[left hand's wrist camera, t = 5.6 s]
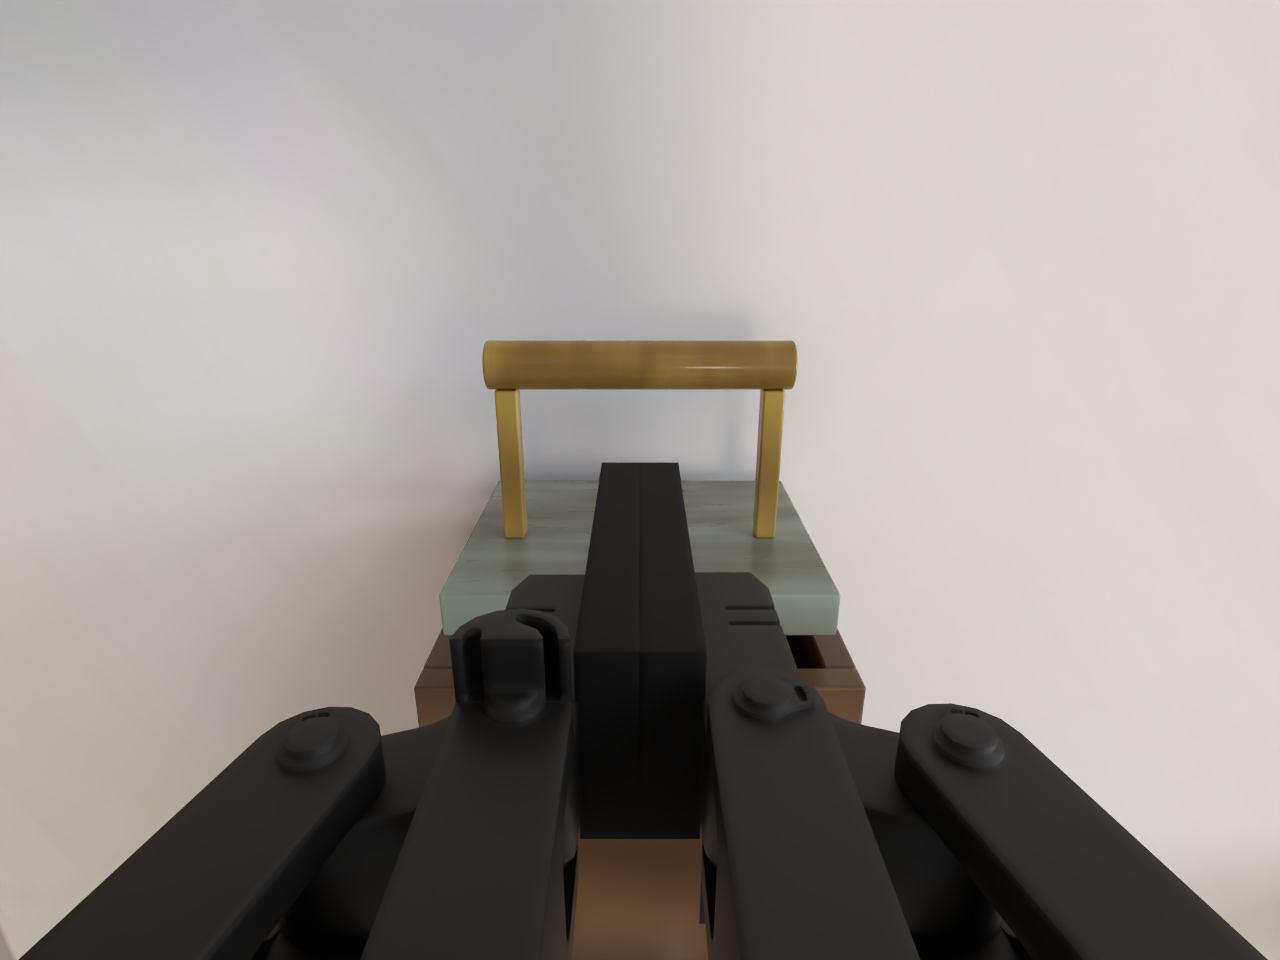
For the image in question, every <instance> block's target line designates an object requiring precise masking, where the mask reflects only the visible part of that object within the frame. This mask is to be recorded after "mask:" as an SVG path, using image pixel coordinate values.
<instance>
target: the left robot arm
mask: <svg viewBox="0 0 1280 960" xmlns="http://www.w3.org/2000/svg"><path fill="white" fill-rule="evenodd" d="M449 643H450V652H451V662H452V671H453V681H454V690H455V700H456V703H455V706H454V708H453V711H452V714H451V716H449V717H446V718H444V719H442V720H440V721H438V722H436V723H433V724H430V725H426V726H423V727H419V728H416V729H411V730H407V731H402V732H398V733H393V734H388V735H384V736H381V734H380V727H379V724H378V723H377V722H376V721H375V720H374V719H373V718H372V716H371V715H370V714H368V713H366V712H363V711H360V710H357V709H354V708H350V707H327V708H322V709H317V710H312V711H307V712H303V713H301V714H299V715H296V716H294V717H291V718H289V719H287V720H284V721H282V722H280V723H278V724H277V725H276V726H274V727H273V728H271V729H270V730H269V731H267V732H266V733H264V734H263V735H262V736H260V737H259V738H258V739H257V740H256V741H255V742H254V743H252V744H251V745H250V746H249V747H248V748H247V749H246V750H245V751H244V752H243V753H242V754H241V755H239V756H238V757H237V758H236V759H235V760H234V761H233V762H232V763H231V764H230V765H229V766H228V767H227V768H225V769H224V770H223V771H222V772H221V773H220V774H219V775H218V776H217V777H216V778H215V779H214V780H212V781H211V782H210V783H209V784H208V785H207V786H206V787H205V788H204V789H203V790H202V791H201V792H199V793H198V794H197V795H196V796H195V797H194V798H193V799H192V800H191V801H190V802H189V803H188V804H187V805H185V806H184V807H183V808H182V809H181V810H180V811H179V812H178V813H177V814H176V815H175V816H174V817H172V818H171V819H170V820H169V821H168V822H167V823H166V824H165V825H164V826H163V827H162V828H161V829H159V830H158V831H157V832H156V833H155V834H154V835H153V836H152V837H151V838H150V839H149V840H148V841H146V842H145V843H144V844H143V845H142V846H141V847H140V848H139V849H138V850H137V851H136V852H135V853H134V854H132V855H131V856H130V857H129V858H128V859H127V860H126V861H125V862H124V863H123V864H122V865H121V866H119V867H118V868H117V869H116V870H115V871H114V872H113V873H112V874H111V875H110V876H109V877H108V878H106V879H105V880H104V881H103V882H102V883H101V884H100V885H99V886H98V887H97V888H96V889H95V890H94V891H92V892H91V893H90V894H89V895H88V896H87V897H86V898H85V899H84V900H83V901H82V902H81V903H79V904H78V905H77V906H76V907H75V908H74V909H73V910H72V911H71V912H70V913H69V914H68V915H66V916H65V917H64V918H63V919H62V920H61V921H60V922H59V923H58V924H57V925H56V926H55V927H53V928H52V929H51V930H50V931H49V932H48V933H47V934H46V935H45V936H44V937H43V938H42V939H41V940H39V941H38V942H37V943H36V944H35V945H34V946H33V947H32V948H31V949H30V950H29V951H28V952H26V953H25V954H24V955H23V956H22V957H21V958H20V959H19V960H572V950H573V939H574V928H575V916H576V905H577V894H578V882H579V864H578V837H579V826H580V839H700V823H701V833H702V864H701V890H700V916H699V924H705V927H706V938H707V949H708V960H1267V959H1266V958H1265V957H1264V956H1263V955H1262V954H1261V953H1260V952H1259V951H1258V950H1257V949H1255V948H1254V947H1253V946H1252V945H1251V944H1250V943H1249V942H1248V941H1247V940H1246V939H1245V938H1243V937H1242V936H1241V935H1240V934H1239V933H1238V932H1237V931H1236V930H1235V929H1234V928H1233V927H1231V926H1230V925H1229V924H1228V923H1227V922H1226V921H1225V920H1224V919H1223V918H1222V917H1221V916H1219V915H1218V914H1217V913H1216V912H1215V911H1214V910H1213V909H1212V908H1211V907H1210V906H1209V905H1207V904H1206V903H1205V902H1204V901H1203V900H1202V899H1201V898H1200V897H1199V896H1198V895H1197V894H1196V893H1194V892H1193V891H1192V890H1191V889H1190V888H1189V887H1188V886H1187V885H1186V884H1185V883H1184V882H1182V881H1181V880H1180V879H1179V878H1178V877H1177V876H1176V875H1175V874H1174V873H1173V872H1172V871H1170V870H1169V869H1168V868H1167V867H1166V866H1165V865H1164V864H1163V863H1162V862H1161V861H1160V860H1158V859H1157V858H1156V857H1155V856H1154V855H1153V854H1152V853H1151V852H1150V851H1149V850H1148V849H1146V848H1145V847H1144V846H1143V845H1142V844H1141V843H1140V842H1139V841H1138V840H1137V839H1136V838H1134V837H1133V836H1132V835H1131V834H1130V833H1129V832H1128V831H1127V830H1126V829H1125V828H1124V827H1122V826H1121V825H1120V824H1119V823H1118V822H1117V821H1116V820H1115V819H1114V818H1113V817H1112V816H1110V815H1109V814H1108V813H1107V812H1106V811H1105V810H1104V809H1103V808H1102V807H1101V806H1100V805H1099V804H1097V803H1096V802H1095V801H1094V800H1093V799H1092V798H1091V797H1090V796H1089V795H1088V794H1087V793H1085V792H1084V791H1083V790H1082V789H1081V788H1080V787H1079V786H1078V785H1077V784H1076V783H1075V782H1073V781H1072V780H1071V779H1070V778H1069V777H1068V776H1067V775H1066V774H1065V773H1064V772H1063V771H1061V770H1060V769H1059V768H1058V767H1057V766H1056V765H1055V764H1054V763H1053V762H1052V761H1051V760H1049V759H1048V758H1047V757H1046V756H1045V755H1044V754H1043V753H1042V752H1041V751H1040V750H1039V749H1037V748H1036V747H1035V746H1034V745H1033V744H1032V743H1031V742H1030V741H1029V740H1028V739H1027V738H1025V737H1024V736H1023V735H1022V734H1021V733H1020V732H1018V731H1017V730H1015V729H1014V728H1013V727H1011V726H1010V725H1008V724H1007V723H1006V722H1004V721H1003V720H1001V719H999V718H997V717H995V716H992V715H990V714H988V713H985V712H983V711H980V710H978V709H975V708H970V707H966V706H960V705H955V704H928V705H925V706H923V707H920V708H917V709H914V710H911V711H910V713H909V714H908V715H907V716H906V717H905V718H904V719H903V720H902V722H901V727H900V733H897V732H892V731H888V730H883V729H878V728H874V727H869V726H865V725H861V724H858V723H854V722H851V721H848V720H845V719H843V718H840V717H838V716H836V715H834V714H832V713H830V712H828V710H827V707H826V705H825V702H824V700H823V699H822V697H821V696H820V694H819V693H818V691H817V690H816V689H815V687H813V686H812V685H810V684H809V683H807V682H806V681H804V680H803V679H802V678H800V677H799V676H798V673H797V670H796V667H795V664H794V661H793V658H792V655H791V652H790V650H789V647H788V644H787V641H786V638H785V635H784V632H783V629H782V626H781V625H780V620H779V617H778V614H777V611H776V610H775V606H774V603H773V600H772V597H771V594H770V591H769V588H768V587H767V586H766V585H765V584H763V583H762V582H761V581H760V580H759V579H758V578H756V577H755V576H754V575H753V574H752V573H751V572H695V571H694V564H693V558H692V551H691V545H690V538H689V531H688V525H687V518H686V512H685V505H684V498H683V492H682V485H681V479H680V472H679V465H678V463H602V465H601V472H600V479H599V485H598V492H597V498H596V505H595V512H594V518H593V525H592V531H591V538H590V545H589V551H588V558H587V564H586V571H585V574H558V575H557V574H555V575H554V574H531V575H529V576H528V577H527V578H525V579H524V580H523V581H522V582H521V583H520V584H518V585H517V586H516V587H515V588H514V589H513V590H512V591H511V594H510V597H509V600H508V603H507V606H506V609H505V610H499V611H494V612H491V613H487V614H484V615H481V616H478V617H475V618H473V619H472V620H470V621H468V622H467V623H465V624H463V625H462V626H460V627H459V628H458V629H457V630H456V632H455V633H454V634H453V635H452V636H451V638H450V639H449Z"/></svg>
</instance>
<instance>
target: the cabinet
mask: <svg viewBox="0 0 1280 960" xmlns="http://www.w3.org/2000/svg"><path fill="white" fill-rule="evenodd" d="M451 636H452V635H444V633H443V628H442V630H441V632H440V634H439V636H438V638H437V641H436V643H435V645H434V647H433V649H432V651H431V653H430V655H429V657H428V659H427V662H426V664H425V666H424V669H423V671H422V673H421V675H420V677H419V679H418V681H417V683H416V685H415V688H414V690H415V698H416V706H417V714H418V722H419V727H423V726H426V725H430V724H433V723H436V722H438V721H440V720H442V719H444V718H446V717H449V716H451V714H452V711H453V708H454V706H455V703H456V700H455V690H454V681H453V671H452V662H451V652H450V643H449V639H450V638H451ZM786 638H787V641H788V644H789V646H790V649H791V652H792V655H793V658H794V661H795V664H796V667H797V669H796V670H797V673H798V676H799V677H800V678H802V679H803V680H804V681H806V682H807V683H809V684H810V685H812V686H813V687H815V689H816V690H817V691H818V693H819V694H820V696H821V697H822V699H823V700H824V702H825V705H826V707H827V710H828V712H830V713H832V714H834V715H836V716H838V717H840V718H843V719H845V720H848V721H851V722H854V723H858V724H861V721H862V713H863V705H864V697H865V689H866V688H865V686H864V684H863V681H862V679H861V677H860V675H859V673H858V671H857V670H856V667H855V665H854V663H853V661H852V659H851V656H850V654H849V652H848V650H847V648H846V646H845V644H844V642H843V640H842V638H841V635H840V633H839V631H838V629H837V632H836V635H786ZM578 864H579V882H578V894H577V905H576V916H575V928H574V939H573V950H572V960H708V949H707V938H706V927H705V924H699V916H700V890H701V864H702V833H701V823H700V839H580V826H579V837H578Z"/></svg>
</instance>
